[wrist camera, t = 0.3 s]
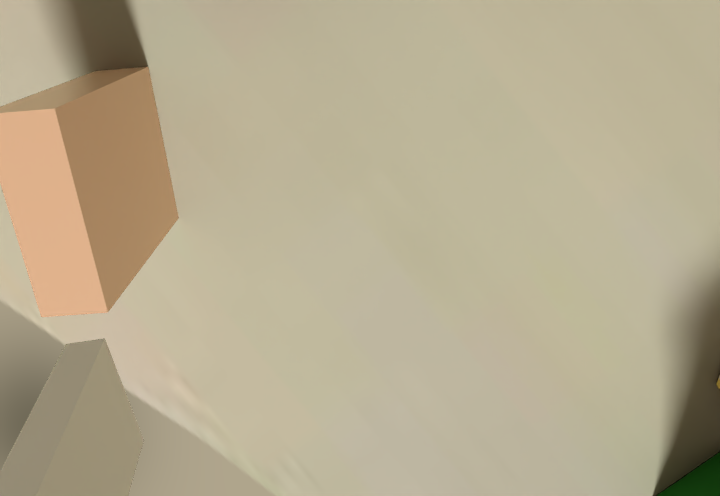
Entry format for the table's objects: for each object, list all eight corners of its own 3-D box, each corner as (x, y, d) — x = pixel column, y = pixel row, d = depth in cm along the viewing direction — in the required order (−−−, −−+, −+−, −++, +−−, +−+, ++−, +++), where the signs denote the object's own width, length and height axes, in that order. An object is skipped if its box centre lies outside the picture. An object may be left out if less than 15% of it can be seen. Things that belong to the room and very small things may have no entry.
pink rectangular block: (91, 71, 37) (-26, 115, 26) (148, 66, 37) (54, 108, 26) (127, 221, 40) (37, 317, 29) (178, 217, 40) (107, 312, 29)
